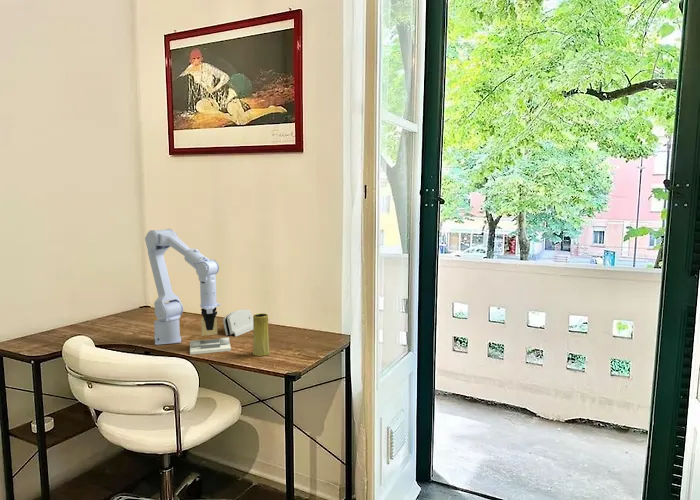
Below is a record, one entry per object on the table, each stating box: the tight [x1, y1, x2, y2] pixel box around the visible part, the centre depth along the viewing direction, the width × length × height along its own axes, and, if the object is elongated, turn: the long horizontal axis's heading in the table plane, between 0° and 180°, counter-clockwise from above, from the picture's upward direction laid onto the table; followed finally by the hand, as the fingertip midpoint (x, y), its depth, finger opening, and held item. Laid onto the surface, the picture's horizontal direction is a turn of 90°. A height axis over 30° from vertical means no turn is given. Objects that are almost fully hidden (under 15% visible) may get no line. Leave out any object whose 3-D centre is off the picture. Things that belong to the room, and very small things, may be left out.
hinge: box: [222, 308, 253, 337], centre depth 211 cm, size 17×5×10 cm, turn 156°
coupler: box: [200, 317, 218, 336], centre depth 186 cm, size 6×4×6 cm
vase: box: [252, 313, 271, 357], centre depth 179 cm, size 6×6×14 cm
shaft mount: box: [189, 336, 232, 356], centre depth 187 cm, size 14×12×3 cm
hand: (209, 328), depth 186 cm, fingers closed on coupler, 4 cm apart
